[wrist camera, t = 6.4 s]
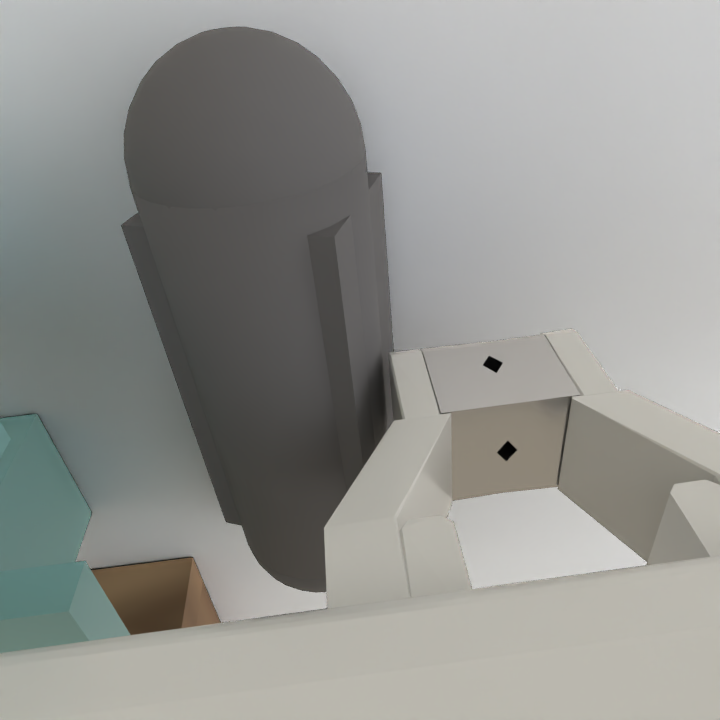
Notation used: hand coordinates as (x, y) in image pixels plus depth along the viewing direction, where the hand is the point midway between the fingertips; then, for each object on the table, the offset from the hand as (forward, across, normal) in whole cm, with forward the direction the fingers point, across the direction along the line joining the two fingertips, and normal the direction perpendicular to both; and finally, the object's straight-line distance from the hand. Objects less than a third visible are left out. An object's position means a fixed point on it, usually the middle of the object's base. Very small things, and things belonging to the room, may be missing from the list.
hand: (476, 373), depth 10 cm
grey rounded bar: (+2, +2, 0) cm, 3 cm away
